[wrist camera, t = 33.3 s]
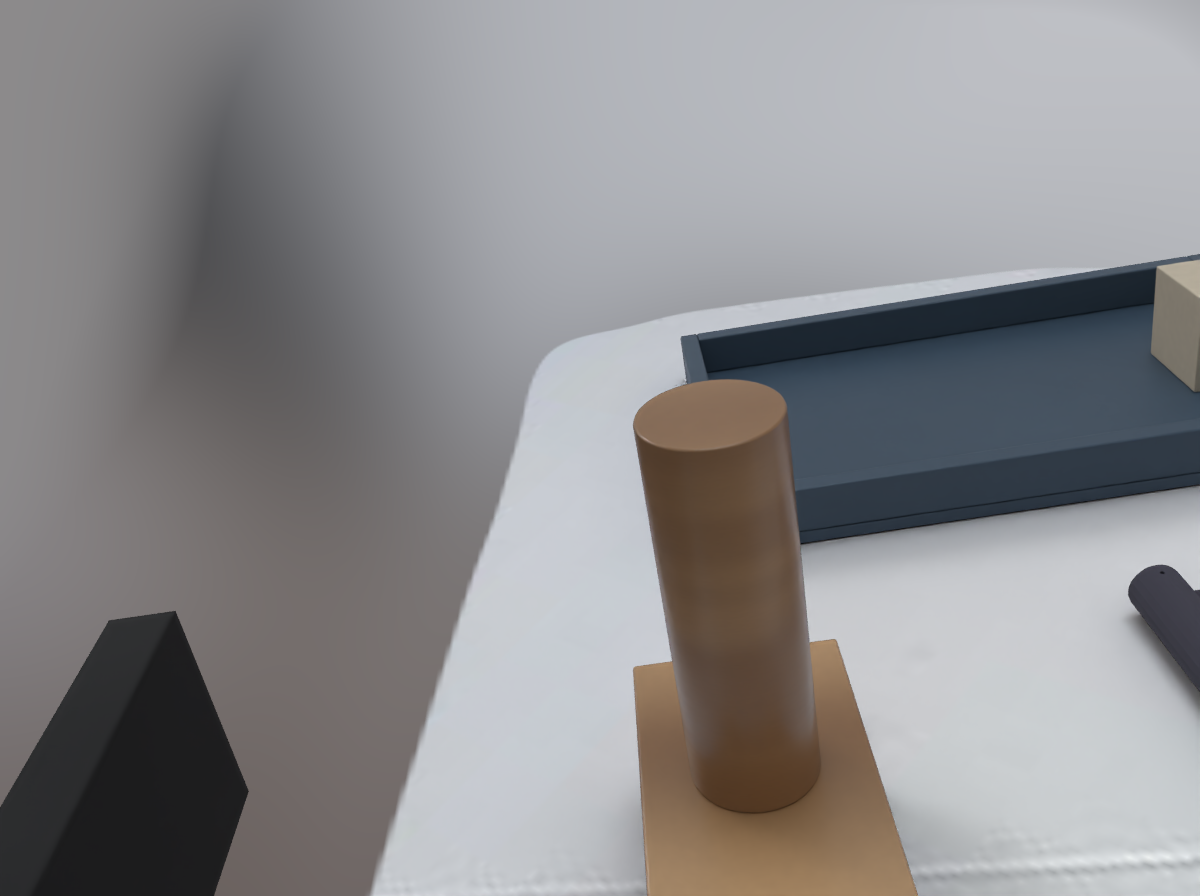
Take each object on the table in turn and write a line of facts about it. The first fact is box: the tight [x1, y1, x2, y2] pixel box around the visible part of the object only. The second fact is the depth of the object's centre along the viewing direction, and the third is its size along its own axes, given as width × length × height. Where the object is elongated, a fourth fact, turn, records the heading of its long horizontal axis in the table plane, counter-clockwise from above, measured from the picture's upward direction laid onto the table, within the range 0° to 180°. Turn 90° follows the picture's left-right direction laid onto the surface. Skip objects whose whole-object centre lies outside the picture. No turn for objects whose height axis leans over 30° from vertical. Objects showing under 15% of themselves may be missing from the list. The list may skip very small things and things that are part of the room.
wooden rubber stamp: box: [633, 379, 918, 896], centre depth 25 cm, size 8×5×14 cm, turn 0°
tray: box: [681, 254, 1200, 543], centre depth 48 cm, size 25×16×2 cm, turn 91°
